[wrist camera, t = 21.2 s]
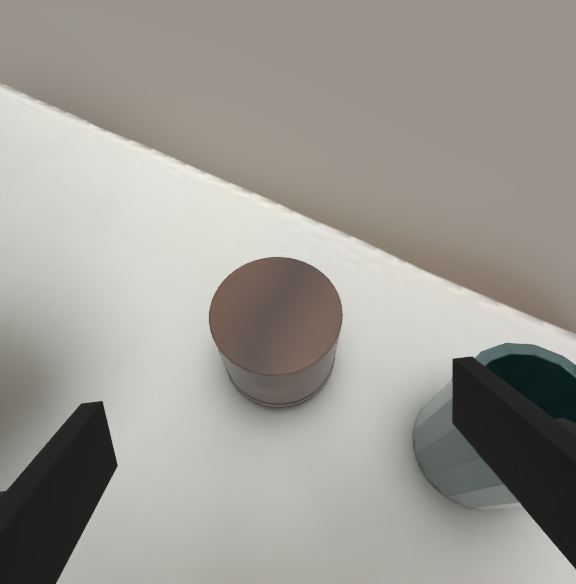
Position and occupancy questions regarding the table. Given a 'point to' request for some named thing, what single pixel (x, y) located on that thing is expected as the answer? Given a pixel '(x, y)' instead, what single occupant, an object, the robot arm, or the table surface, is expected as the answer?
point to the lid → (277, 329)
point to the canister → (457, 450)
